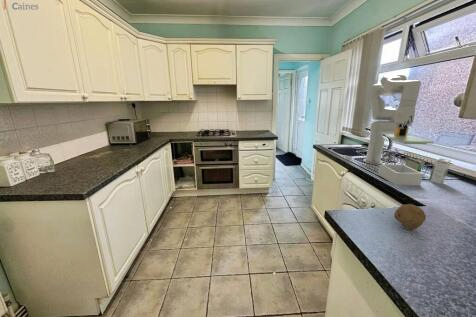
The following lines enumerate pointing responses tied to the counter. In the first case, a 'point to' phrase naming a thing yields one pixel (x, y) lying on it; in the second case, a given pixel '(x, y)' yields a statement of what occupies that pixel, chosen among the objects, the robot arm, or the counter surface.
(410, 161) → the food container
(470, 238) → the counter surface
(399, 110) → the robot arm
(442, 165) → the syrup box
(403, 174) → the tub
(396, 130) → the lid
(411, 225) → the natural sponge
